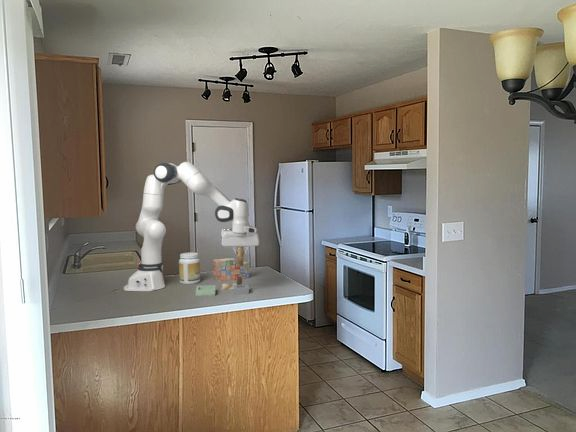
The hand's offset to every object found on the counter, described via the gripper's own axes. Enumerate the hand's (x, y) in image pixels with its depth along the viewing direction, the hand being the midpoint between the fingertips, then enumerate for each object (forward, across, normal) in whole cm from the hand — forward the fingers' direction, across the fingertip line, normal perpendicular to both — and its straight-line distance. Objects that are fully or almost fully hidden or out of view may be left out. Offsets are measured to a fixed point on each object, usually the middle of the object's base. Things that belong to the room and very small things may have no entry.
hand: (240, 254), depth 264 cm
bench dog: (+21, 0, +8) cm, 22 cm away
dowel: (+6, 0, 0) cm, 6 cm away
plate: (+21, -6, +9) cm, 24 cm away
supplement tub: (+21, -30, +26) cm, 45 cm away
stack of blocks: (+21, -5, +33) cm, 39 cm away
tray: (+21, -18, -1) cm, 28 cm away
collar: (+21, 0, 0) cm, 21 cm away
